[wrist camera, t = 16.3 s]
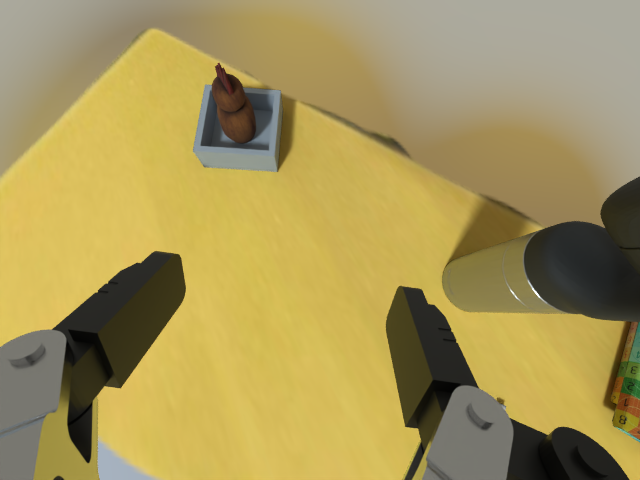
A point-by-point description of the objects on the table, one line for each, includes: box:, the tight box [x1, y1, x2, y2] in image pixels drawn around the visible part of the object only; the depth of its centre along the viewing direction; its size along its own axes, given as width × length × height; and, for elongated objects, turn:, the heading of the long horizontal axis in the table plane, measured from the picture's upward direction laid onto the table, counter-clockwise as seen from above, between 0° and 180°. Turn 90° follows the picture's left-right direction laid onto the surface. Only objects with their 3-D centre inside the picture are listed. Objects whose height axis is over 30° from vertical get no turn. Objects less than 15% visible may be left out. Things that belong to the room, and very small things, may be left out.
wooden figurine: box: [211, 63, 256, 143], centre depth 41 cm, size 7×6×15 cm
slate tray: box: [193, 85, 283, 172], centre depth 47 cm, size 13×13×5 cm
